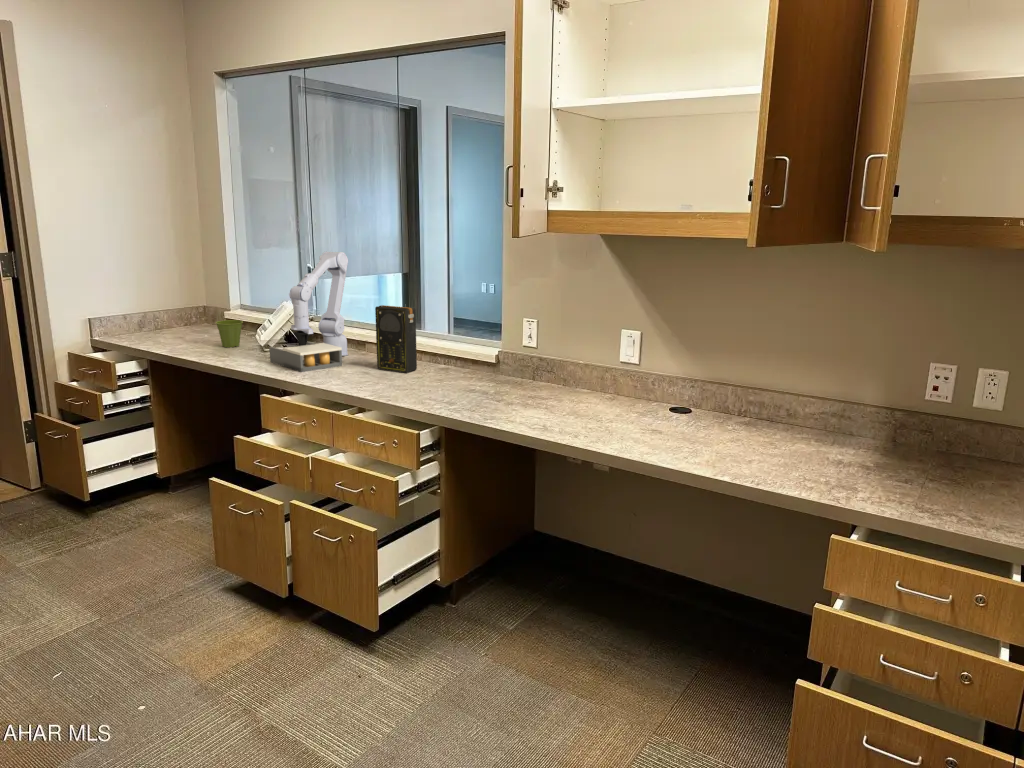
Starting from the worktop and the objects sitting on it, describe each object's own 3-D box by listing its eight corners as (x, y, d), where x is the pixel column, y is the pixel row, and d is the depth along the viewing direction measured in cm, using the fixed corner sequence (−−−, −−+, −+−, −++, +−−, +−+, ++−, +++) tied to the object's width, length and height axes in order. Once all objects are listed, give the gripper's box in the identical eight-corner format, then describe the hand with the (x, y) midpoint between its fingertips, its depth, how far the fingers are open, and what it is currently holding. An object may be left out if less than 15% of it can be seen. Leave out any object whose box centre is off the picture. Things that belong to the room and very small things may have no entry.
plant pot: (219, 349, 324) (217, 324, 322) (215, 345, 334) (213, 321, 332) (247, 347, 330) (245, 322, 327) (242, 343, 340) (240, 319, 337)
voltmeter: (374, 369, 286) (372, 306, 280) (388, 365, 293) (386, 304, 288) (406, 374, 278) (404, 309, 273) (419, 370, 286) (418, 306, 280)
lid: (323, 347, 301) (323, 342, 300) (341, 352, 291) (341, 347, 291) (283, 352, 289) (282, 348, 288) (300, 358, 279) (300, 353, 279)
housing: (310, 356, 311) (309, 341, 309) (342, 365, 292) (341, 350, 291) (270, 361, 299) (269, 346, 297) (301, 372, 280) (300, 356, 279)
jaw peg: (326, 365, 294) (326, 350, 292) (332, 366, 291) (331, 351, 290) (317, 366, 291) (317, 351, 290) (323, 367, 288) (322, 353, 287)
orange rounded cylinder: (314, 366, 289) (313, 352, 288) (316, 368, 286) (314, 353, 284) (304, 368, 288) (302, 353, 286) (305, 370, 284) (304, 355, 283)
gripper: (283, 315, 295) (285, 348, 298) (300, 319, 284) (302, 353, 288) (299, 313, 299) (301, 346, 302) (317, 317, 289) (318, 351, 292)
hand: (303, 349), depth 295 cm, fingers closed
